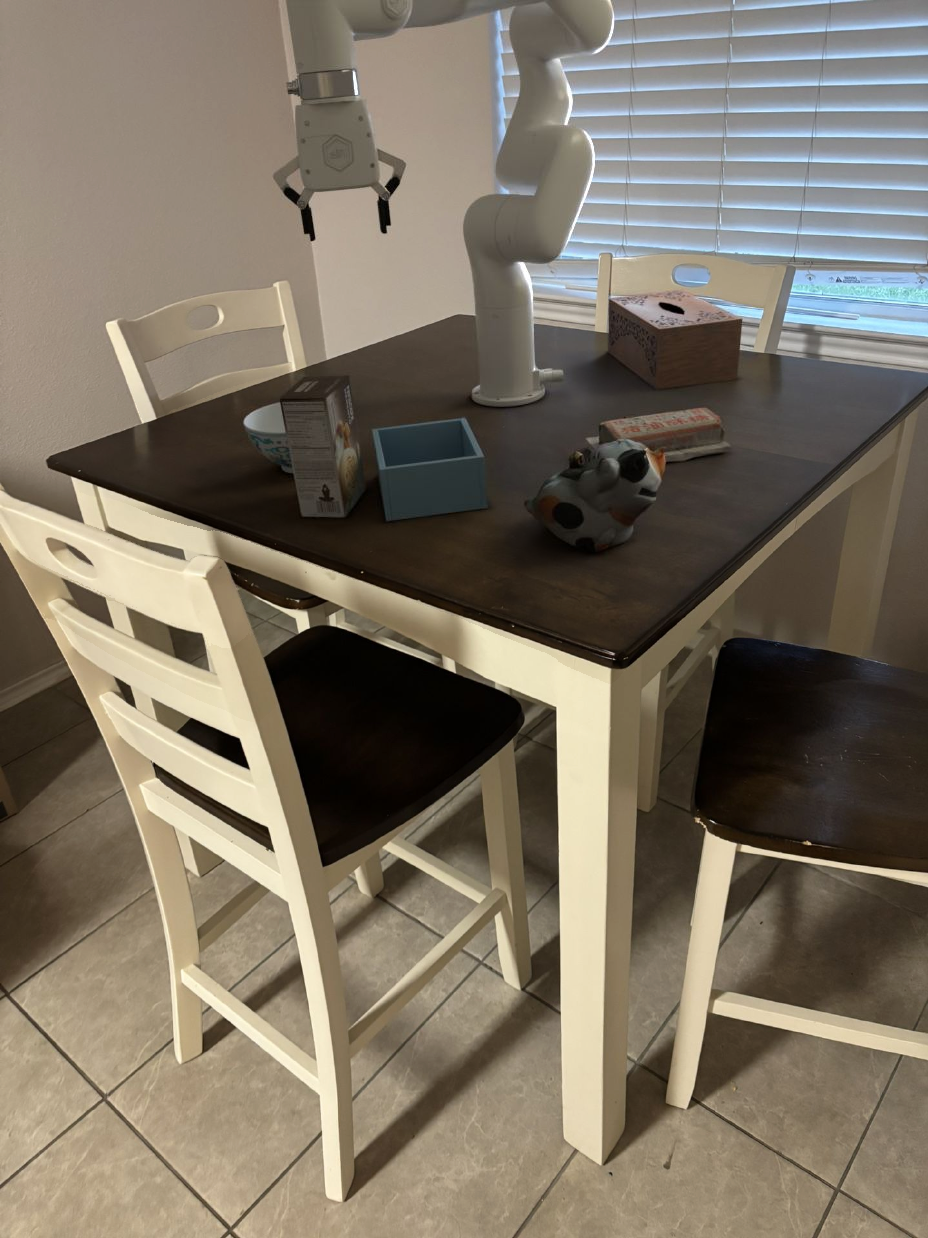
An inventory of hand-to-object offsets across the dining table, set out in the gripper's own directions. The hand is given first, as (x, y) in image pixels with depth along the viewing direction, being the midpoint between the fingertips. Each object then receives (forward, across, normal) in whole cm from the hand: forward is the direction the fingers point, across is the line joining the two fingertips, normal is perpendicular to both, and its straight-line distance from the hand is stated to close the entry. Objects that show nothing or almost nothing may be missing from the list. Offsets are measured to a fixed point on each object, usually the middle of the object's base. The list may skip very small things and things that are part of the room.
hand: (348, 235), depth 121 cm
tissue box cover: (+31, +55, +25) cm, 68 cm away
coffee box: (+31, -7, -19) cm, 37 cm away
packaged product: (+31, +39, -15) cm, 52 cm away
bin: (+30, +6, -19) cm, 36 cm away
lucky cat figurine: (+31, +24, -37) cm, 54 cm away
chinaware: (+31, -11, -3) cm, 33 cm away
